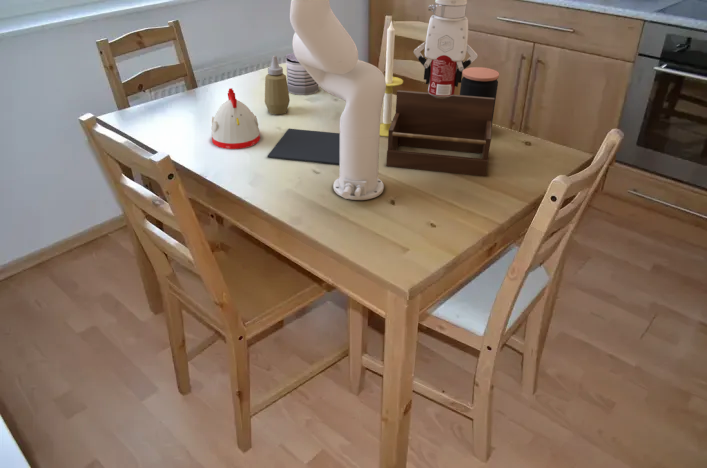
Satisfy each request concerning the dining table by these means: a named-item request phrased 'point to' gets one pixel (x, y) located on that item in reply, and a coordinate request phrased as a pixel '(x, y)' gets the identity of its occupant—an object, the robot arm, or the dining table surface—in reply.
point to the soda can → (442, 77)
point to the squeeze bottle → (276, 89)
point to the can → (299, 77)
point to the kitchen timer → (234, 125)
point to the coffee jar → (480, 83)
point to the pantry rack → (440, 132)
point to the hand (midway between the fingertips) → (442, 83)
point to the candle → (389, 82)
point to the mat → (308, 147)
